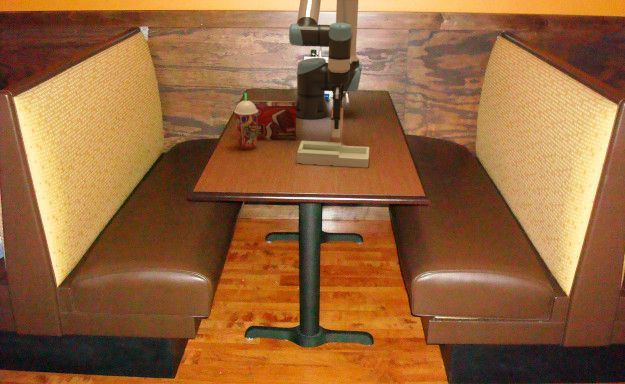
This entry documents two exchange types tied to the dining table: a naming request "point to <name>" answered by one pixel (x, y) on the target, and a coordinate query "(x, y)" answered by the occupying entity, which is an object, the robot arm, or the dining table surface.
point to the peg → (336, 139)
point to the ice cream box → (276, 120)
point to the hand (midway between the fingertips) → (336, 134)
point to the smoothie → (246, 124)
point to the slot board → (343, 160)
